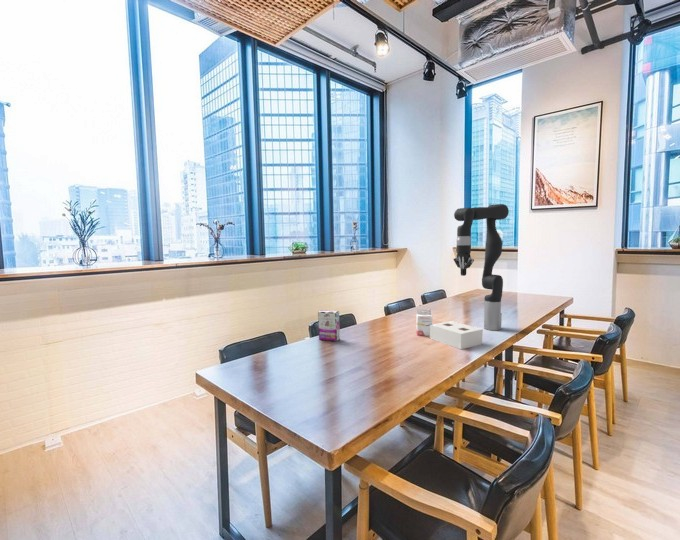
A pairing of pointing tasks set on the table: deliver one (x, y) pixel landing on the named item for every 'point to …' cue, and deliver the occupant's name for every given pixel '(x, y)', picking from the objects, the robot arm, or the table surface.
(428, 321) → the ink cartridge box
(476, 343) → the housing
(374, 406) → the table surface
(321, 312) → the candy bar box
